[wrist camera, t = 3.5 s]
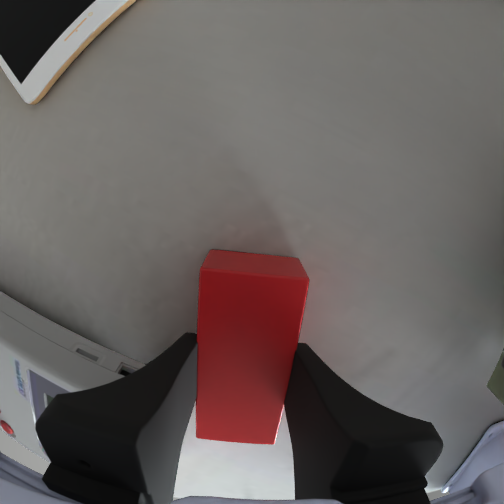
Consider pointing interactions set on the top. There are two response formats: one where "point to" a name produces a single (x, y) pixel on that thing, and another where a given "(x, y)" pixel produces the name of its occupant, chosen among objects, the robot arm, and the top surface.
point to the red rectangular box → (246, 343)
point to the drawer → (498, 380)
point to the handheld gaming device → (46, 368)
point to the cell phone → (48, 38)
